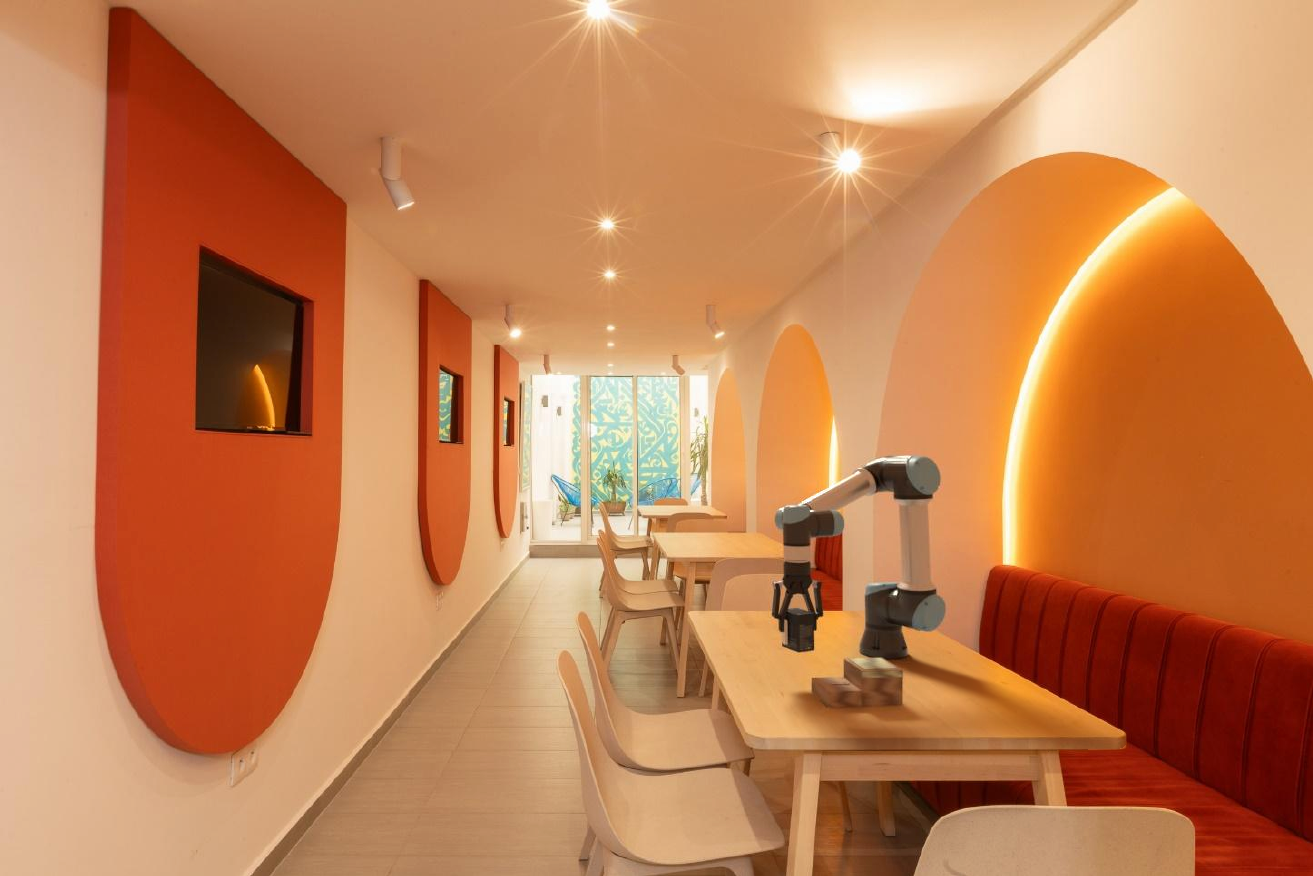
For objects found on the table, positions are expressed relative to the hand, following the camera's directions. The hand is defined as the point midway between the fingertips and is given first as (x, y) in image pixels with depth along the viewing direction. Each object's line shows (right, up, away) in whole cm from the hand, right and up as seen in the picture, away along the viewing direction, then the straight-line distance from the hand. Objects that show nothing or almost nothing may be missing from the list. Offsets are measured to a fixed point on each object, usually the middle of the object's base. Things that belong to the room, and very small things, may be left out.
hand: (797, 642), depth 205 cm
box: (0, -2, 0) cm, 2 cm away
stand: (+13, -11, -12) cm, 21 cm away
